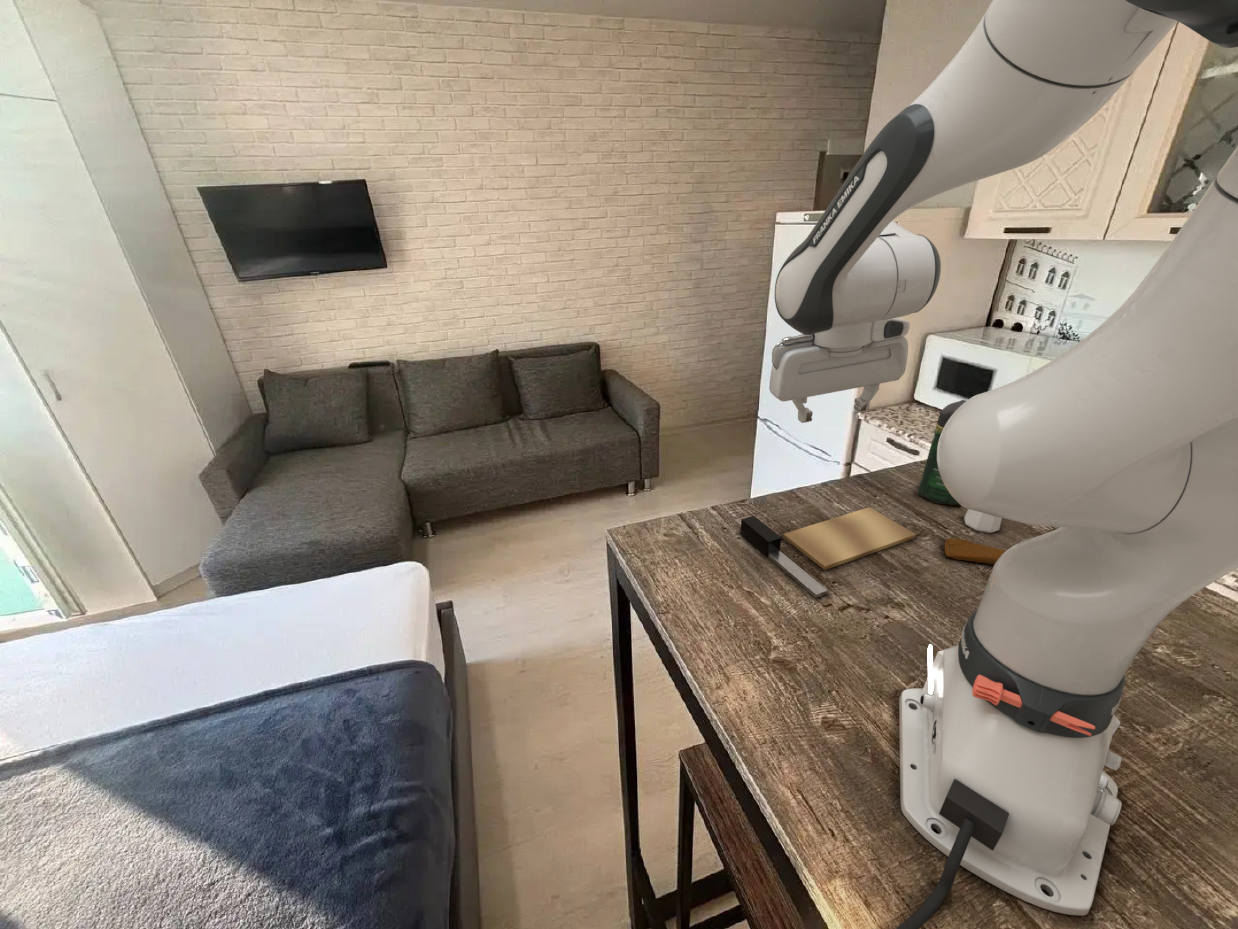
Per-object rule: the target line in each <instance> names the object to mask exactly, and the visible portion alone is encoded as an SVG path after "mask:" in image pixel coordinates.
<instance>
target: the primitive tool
mask: <svg viewBox="0 0 1238 929" xmlns="http://www.w3.org/2000/svg"><path fill="white" fill-rule="evenodd" d="M1006 550H1007V549H1002V548H997V547H992V546H988V545H984V544H981V543H975V542H971V541H969V540H967V539H959V538H954V537H953V538H952V537H951V538H946V539H945V541H944V554H945V556H946V557H947V558H951V559H953V560H959V561H965V562H966V561H967V562H972V563H980V564H981V563H982V564H987V565H993V566H994V565H995V563H996V561H997V560H998V559H999V557H1000V556H1001V555H1002V554H1003V553H1004V552H1005V551H1006Z"/></svg>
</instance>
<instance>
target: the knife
mask: <svg viewBox="0 0 1238 929" xmlns="http://www.w3.org/2000/svg"><path fill="white" fill-rule="evenodd" d="M740 520H741V521H740V532H739V535H741V537H743V539H745V540H746V541H747V542H748V543H749V544H750V545H751V546H753V547H754V548H755V549H757V551H759V552H760V554H762V555H763V556H764V557H766V558H768V559H769V560H771V561H772V562H773V563H774V564H775V565H776V566H777V567H778V568H780V570H782V571H783V572H784V573H785V574H787V575H788V576H789V577H790V578H792V579H793V581H795V582H796V583H797V584H798V585H799V586H801V588H802V589H804V590H805V591H807V593H809V594H810V595H811V596H812V597H813V598H815V599H818V598H820V597H823V596H826V595H827V594H828V592H829V591H828V589H827V588H826V587H824V585H822V584H821V583H820V582H818V581H817V580H816V579H815V578H814V577H812V576H811V575H810V574H809V573H808V572H807V571H805V570H804V569H803V568H801V567H800V566H799V565H798V564H797V563H796V562H794V561H793V560H792V559H790V558H789V556H787V555H785V554H784V553H783V552H782V551H781V545H782V536H780V535H779V534H778V533H776V532H775V531H774V530H773V529H771V528H770V527H769V526H768V525H766V524H765V523H763V522H762V520H760V519H759V518H757V517H756V516H755V515H751V516H747V517H744V518H742V519H740Z"/></svg>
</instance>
